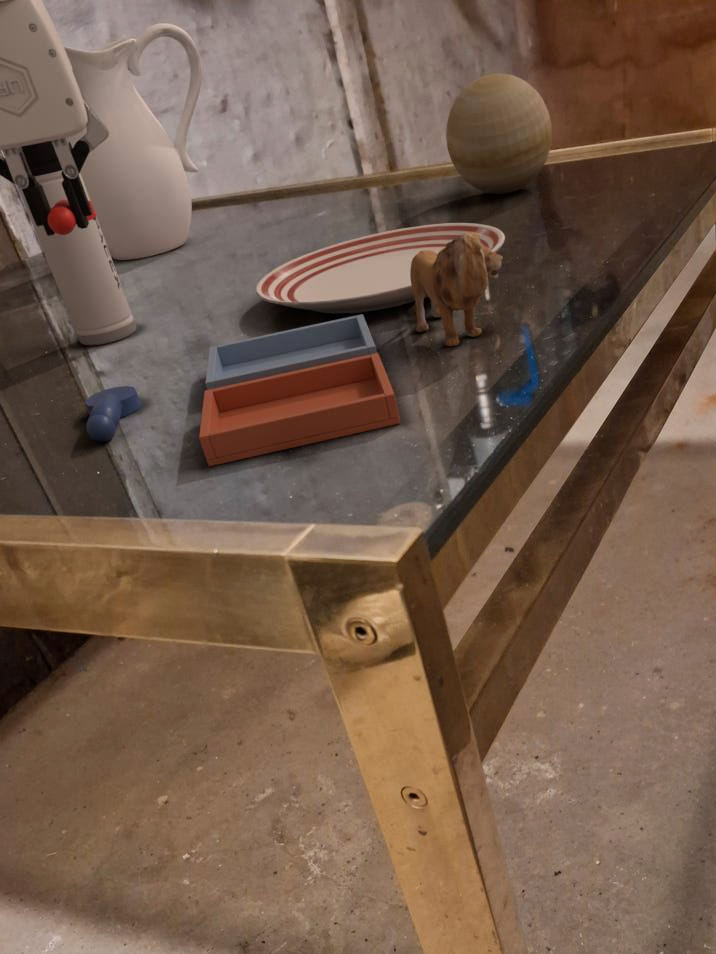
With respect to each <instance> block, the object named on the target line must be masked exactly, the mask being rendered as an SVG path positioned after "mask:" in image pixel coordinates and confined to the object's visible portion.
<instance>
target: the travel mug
mask: <svg viewBox="0 0 716 954" xmlns="http://www.w3.org/2000/svg"><path fill="white" fill-rule="evenodd" d="M22 150H23V153H24V156H25V158H26V161H27V164H28V166H29V169H30V172H31V175H33V176H34V177H35V178H36V181H37V183H39V185H40V184H41V185H42V187H43V189H44V192H45V195H46V197H47V200H48V202H49V205H50V208H52V207H54V205H55V204H56V203H57V202H58V201H60V200H67V197H66V194H65V192H64V189H63V186H62V182H63V180H64V179H63V177H62V174H61V173H62V171H63V169H62V167H61V164H60V162H59V159H58V157H57V154H56V152H55V149H54V147H53V144H52V141H47V142H42V143H37V144H32V145H27V146H22ZM79 177H80V180H81V182H82V185H83V188H84V191H85V193H86V196H87V199H88V200H89V201H90V198H89V195H88V193H87V190H86V187H85V184H84V182H83V179H82V176H81V174H80V173H79ZM16 188H17V190H18V192H19V195H20V197H21V200H22V202H23V205H24V207H25V210H26V212H27V215H28V218H29V220H30V222H31V225H32V228H33V229H34V232H35V235H36V237H37V240H38V242H39V244H40V247H41V249H42V251H43V252H42V253H43V254H44V257H45V259H46V261H47V264H48V267H49V269H50V272H51V274H52V276H53V279H54V281H55V284H56V286H57V288H58V292H59V294H60V296H61V298H62V301H63V304H64V306H65V309H66V311H67V313H68V316H69V318H70V320H71V324H72V325H73V328H75V333H76V336H77V338H78V341H79V343H81V344H82V345H85V346H90V347H91V346H101V345H106V344H110V343H115V342H118V341H120V340H123V339H125V338H128V337H130V336H131V335H133V334H134V333H135V332H136V330H137V327H138V326H137V324H136V321H135V318H134V316H133V315H132V311H131V308H130V305H129V302H128V300H127V297H126V294H125V291H124V288H123V285H122V283H121V280H120V277H119V274H118V272H117V269H116V267H115V264H114V261H113V257H112V256H111V255H110V253H109V250H108V247H107V245H106V242H105V239H104V236H103V234H102V231H101V228H100V225H99V223H98V220H97V217H95V218H94V219H92V220H89V224H88V227H87V228H84V229H81V228H78V226H77V224H76V225H75V227H74V229H73V231H72V232H71V233H69V234H67V235H60V234H57V233H55V234H54V235H50V236H47V234H46V231H45V229H44V226H43V225H42V226H37V225H36V223H35V221H34V219H33V216H32V214H31V211H30V209H29V206H28V204H27V201H26V199H25V196H24V194H23V191H22V189H20V188H18V187H17V186H16Z"/></svg>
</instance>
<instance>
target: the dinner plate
mask: <svg viewBox="0 0 716 954" xmlns="http://www.w3.org/2000/svg"><path fill="white" fill-rule="evenodd" d="M468 233H475V234H479V235H480V241H481V243H482V244H483V245H484V246H486V247H488V248H489V250H490V251H492V252H494V253H496V254H498V251H499V250H500V249H501V248H502V247H503V245H504V243H505V240H506V236H505V234H504V232H503V231H502V230H500V229H499V228H497V227H494V226H491V225H488V224H487V225H486V224H481V223H472V222H471V223H469V222H448V223H433V224H425V225H417V226H411V227H404V228H398V229H393V230H388V231H383V232H378V233H373V234H368V235H365V236H360V237H357V238H353V239H349V240H345V241H342V242H338V243H335V244H331V245H329V246H325V247H322V248H320V249H317V250H314V251H311V252H309V253H306V254H304V255H301V256H298V257H296V258H294V259H291V260H289V261H287V262H285V263H283V264H281V265H279V266H277V267H276V268H274V269H272V270H271V271H270V272H268V273H267V274H266V275H264V276H263V277H262V278H261V279H260V280H259V281H258V282H257V284H256V286H255V293H256V296H257V297H258V298H259V299H261V300H263V301H265V302H268V303H271V304H275V305H279V306H280V305H281V306H284V307H288V308H293V309H299V310H308V311H309V310H310V311H313V312H317V313H322V314H356V313H366V312H373V311H378V310H379V311H380V310H385V309H389V308H396V307H399V306H403V305H406V304H410V303H414V302H415V298H414V293H413V290H412V285H411V278H410V269H411V262H412V259H413V258H414V256H415V255H416V254H418V253H419V252H420V251H422V250H430V251H434V252H436V253H437V254H438V253H439V252H440V251H441V250H442V249H444V248H446V245H447V243H449V242H451V241H452V240H454V239H455V238H457V237H459V236H460V235H462V234H468ZM426 298H429V297H428V295H427V293H426V291H425V295H424V299H426Z"/></svg>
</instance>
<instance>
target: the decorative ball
mask: <svg viewBox="0 0 716 954" xmlns="http://www.w3.org/2000/svg"><path fill="white" fill-rule="evenodd" d="M550 116H551V115H550V112H549V110H548V107H547V105H546V103H545V102H544V99H543V97H542V96H541V95H540V93H539V92H538V90H537V89H535V88H534V87H533V86H532V85H531V84H530V83H528V81H526V80H524V79H523V78H520V77H518V76H515V75H513V74H508V73H501V72H499V73H497V72H496V73H491V74H486V75H482V76H481V77H478V78H476V79H474V80H473V81H472V82H470V83H469V84H468V85H466V86H465V87H464V88H463V89H462V91H460V93H459V94H458V96H457V97H456V99H455V100H454V102H453V104H452V106H451V108H450V110H449V114H448V119H447V123H446V128H445V129H446V130H445V139H446V147H447V152H448V156H449V158H450V161H451V163H452V165H453V167H454V169H455V170H456V172H457V173H458V174H459V175H460V177H461V178H462V179H463V180H464V181H465V182H466V183H467V184H468V185H470V186H471V187H473V188H475V189H476V190H479V191H481V192H483V193H487V194H491V195H505V194H511V193H514V192H516V191H519V190H521V189H522V188H524V187H526V186H527V185H529V184H530V183H532V181H533V180H534V179H535V178H536V177H537V176H538V175H539V174H540V172H541V171H542V169H543V167H544V166H545V165H546V162H547V160H548V156H549V154H550V151H551V145H552V139H553V130H552V129H553V127H552V126H553V125H552V120H551V117H550Z"/></svg>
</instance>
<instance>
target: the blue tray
mask: <svg viewBox="0 0 716 954" xmlns="http://www.w3.org/2000/svg"><path fill="white" fill-rule="evenodd" d="M208 348H209V349H208V357H207V366H206V375H205V382H204V383H205V387H206V390H210V389H215V388H219V387H224V386H228V385H233V384H238V383H242V382H247V381H251V380H256V379H260V378H265V377H270V376H274V375H279V374H283V373H288V372H292V371H297V370H302V369H306V368H311V367H315V366H320V365H325V364H329V363H334V362H338V361H343V360H347V359H352V358H357V357H361V356H366V355H371V354H375V353H378V352H377V351H378V350H377V346H376V344H375V342H374V339H373V336H372V334H371V331H370V329H369V327H368V324H367V321H366V319H365V315H364V314H358V315H357V314H356V315H353V316H348V317H343V318H338V319H334V320H329V321H325V322H319V323H315V324H310V325H305V326H301V327H297V328H292V329H288V330H287V329H286V330H282V331H278V332H272V333H268V334H264V335H259V336H254V337H250V338H244V339H240V340H236V341H232V342H226V343H222V344H217V345H213V346H210V347H208Z"/></svg>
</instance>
